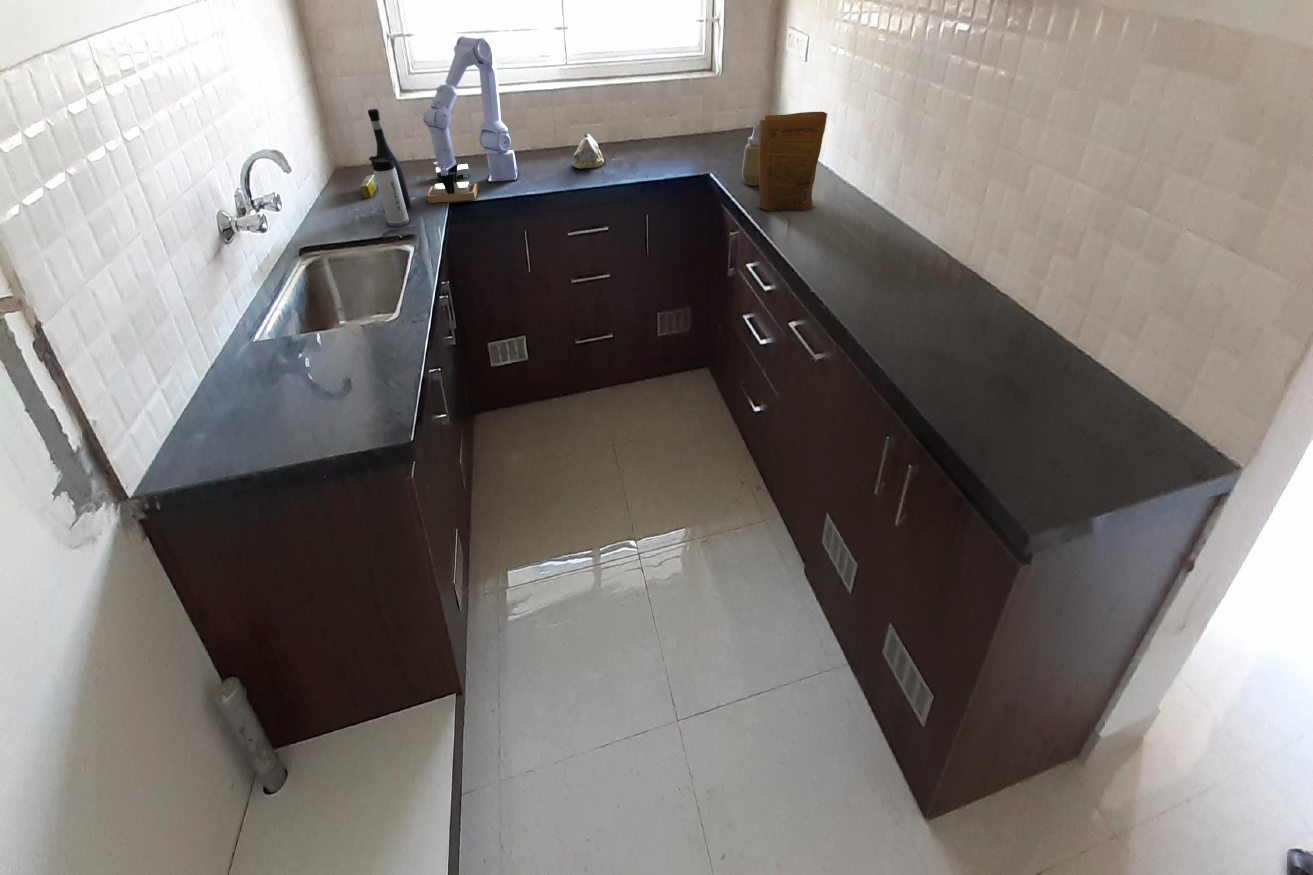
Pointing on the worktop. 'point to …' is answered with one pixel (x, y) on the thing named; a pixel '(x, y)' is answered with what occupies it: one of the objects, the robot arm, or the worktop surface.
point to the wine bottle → (388, 153)
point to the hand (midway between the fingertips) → (452, 190)
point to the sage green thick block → (459, 170)
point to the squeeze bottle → (751, 159)
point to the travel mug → (390, 190)
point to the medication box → (368, 186)
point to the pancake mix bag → (789, 159)
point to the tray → (453, 195)
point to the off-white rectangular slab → (459, 188)
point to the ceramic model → (588, 154)
